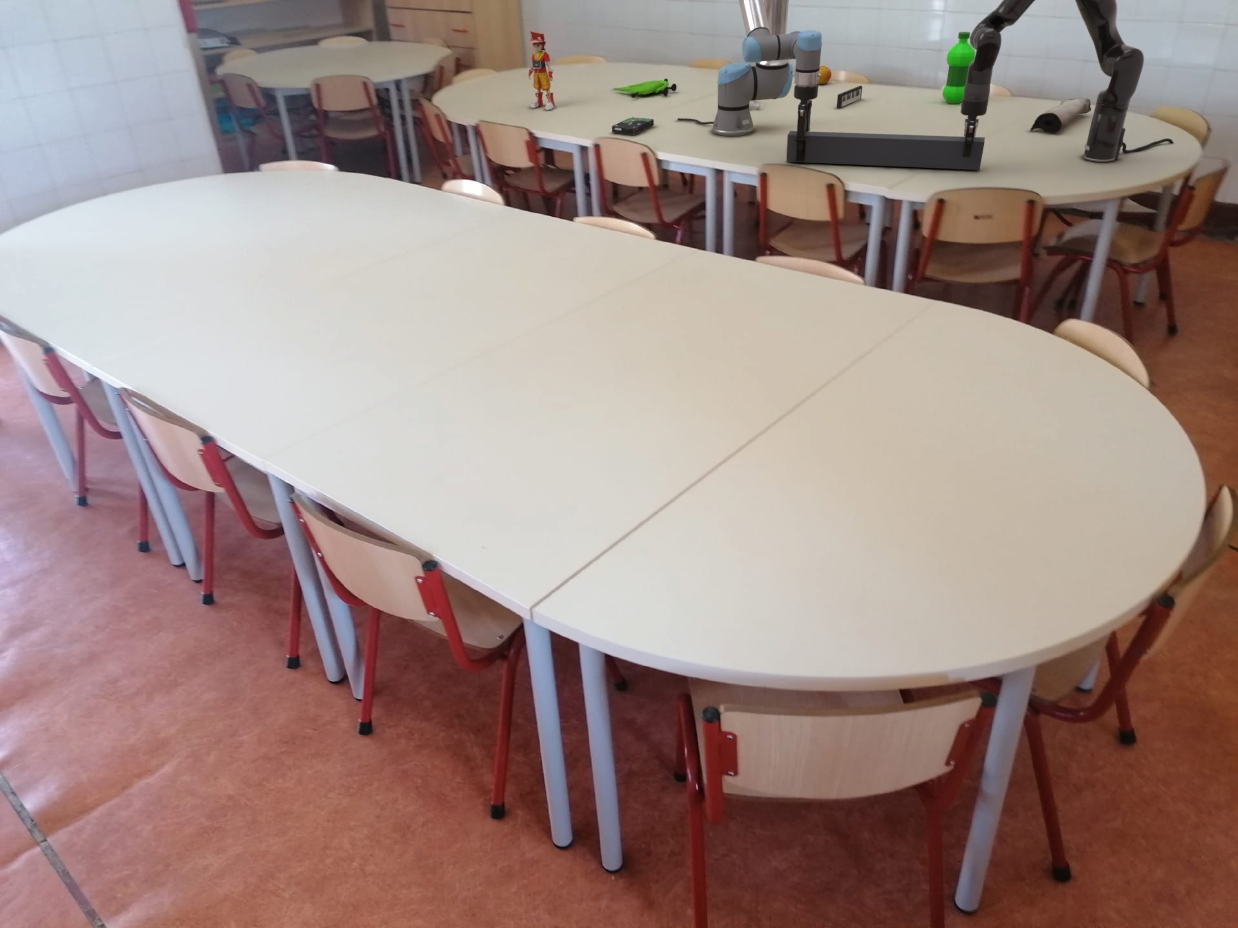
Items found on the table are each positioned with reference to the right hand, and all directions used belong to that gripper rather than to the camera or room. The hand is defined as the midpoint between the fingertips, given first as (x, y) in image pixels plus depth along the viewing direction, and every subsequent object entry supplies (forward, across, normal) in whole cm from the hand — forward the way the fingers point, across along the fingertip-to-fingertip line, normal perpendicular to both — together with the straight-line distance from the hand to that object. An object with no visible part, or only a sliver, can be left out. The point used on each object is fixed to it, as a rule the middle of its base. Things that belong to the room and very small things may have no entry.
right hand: (966, 153), depth 283 cm
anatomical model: (+5, +72, +86) cm, 113 cm away
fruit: (+6, +115, +62) cm, 131 cm away
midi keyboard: (+6, +81, +46) cm, 93 cm away
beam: (+4, 0, +26) cm, 26 cm away
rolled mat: (+5, +60, -32) cm, 68 cm away
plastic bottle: (+6, +87, +6) cm, 88 cm away
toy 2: (+6, +92, +138) cm, 166 cm away
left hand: (+3, 0, +52) cm, 52 cm away
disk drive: (+5, +31, +121) cm, 125 cm away
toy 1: (+5, +61, +172) cm, 182 cm away
